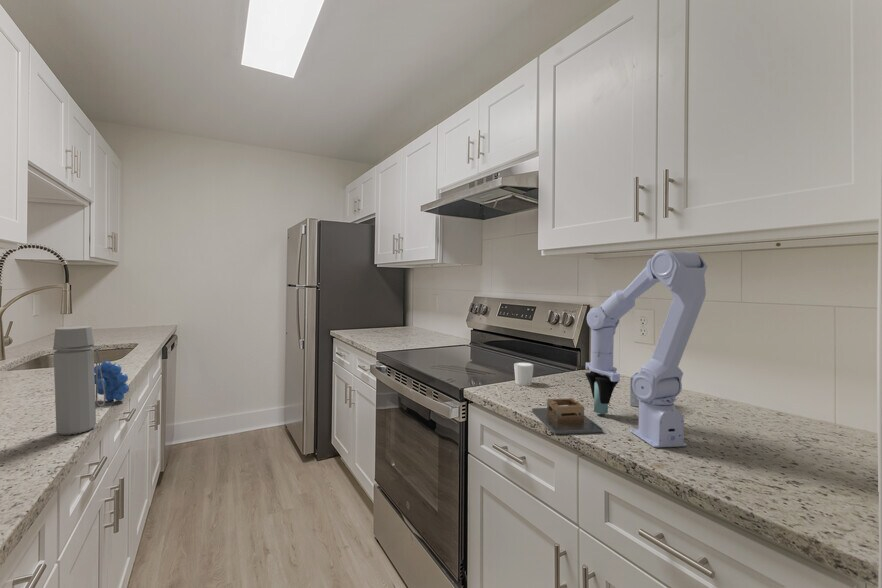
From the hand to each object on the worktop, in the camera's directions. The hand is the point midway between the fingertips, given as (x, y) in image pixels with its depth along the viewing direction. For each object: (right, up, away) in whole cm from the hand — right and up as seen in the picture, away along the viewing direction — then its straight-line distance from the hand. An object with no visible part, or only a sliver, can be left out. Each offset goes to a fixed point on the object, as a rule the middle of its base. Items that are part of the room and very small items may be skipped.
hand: (600, 401), depth 108 cm
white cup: (-15, -3, +32) cm, 35 cm away
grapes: (-143, -3, +8) cm, 143 cm away
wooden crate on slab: (-11, -4, -5) cm, 13 cm away
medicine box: (+16, -4, +10) cm, 19 cm away
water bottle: (-131, -4, -12) cm, 132 cm away
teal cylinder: (0, -3, 0) cm, 3 cm away
